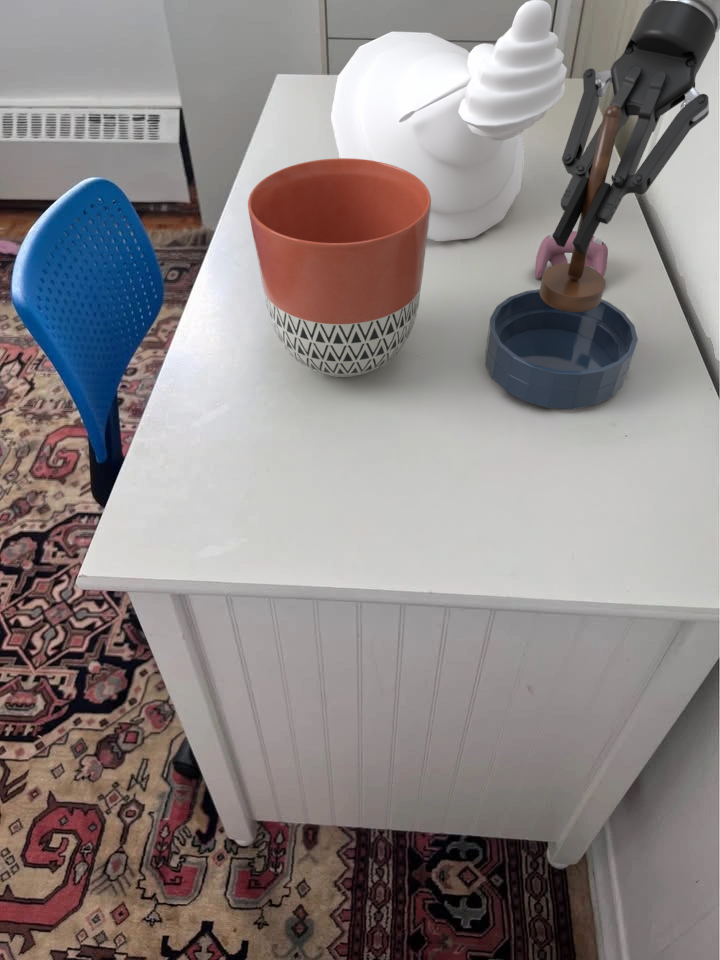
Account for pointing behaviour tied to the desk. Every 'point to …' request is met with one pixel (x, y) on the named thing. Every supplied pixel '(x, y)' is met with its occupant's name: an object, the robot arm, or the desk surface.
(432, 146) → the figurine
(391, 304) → the planter
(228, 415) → the desk surface
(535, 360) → the bowl
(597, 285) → the masher
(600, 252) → the video game controller
